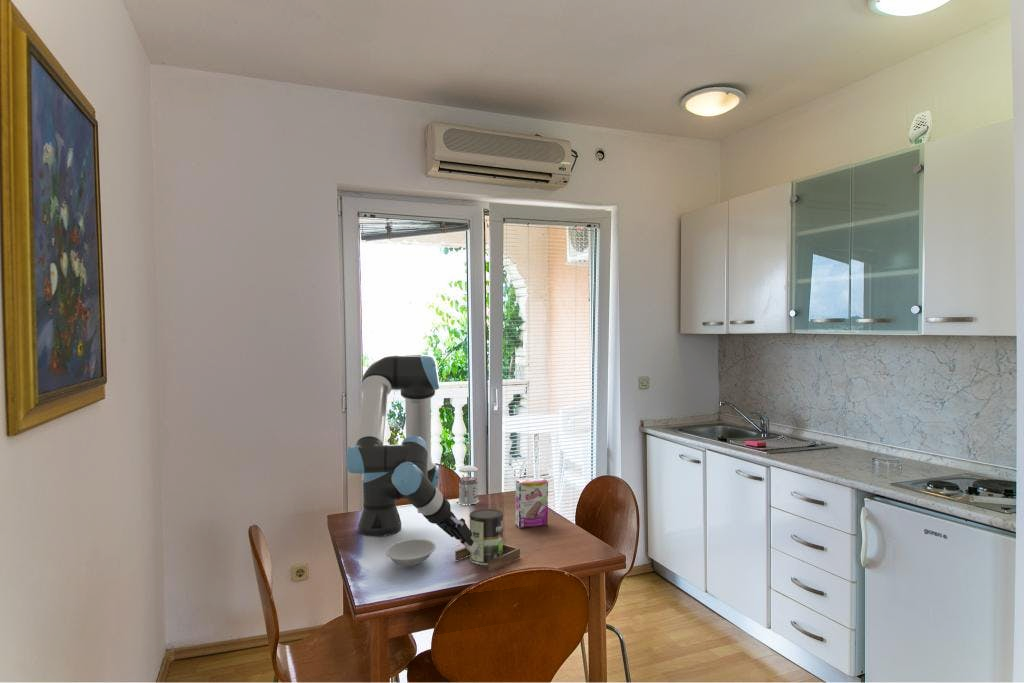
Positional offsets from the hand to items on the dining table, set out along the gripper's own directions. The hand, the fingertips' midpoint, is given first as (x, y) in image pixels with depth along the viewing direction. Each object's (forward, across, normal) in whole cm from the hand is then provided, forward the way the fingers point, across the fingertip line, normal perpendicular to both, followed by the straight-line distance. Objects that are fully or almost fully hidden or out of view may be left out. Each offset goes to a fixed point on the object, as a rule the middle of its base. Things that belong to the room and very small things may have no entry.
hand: (474, 548), depth 174 cm
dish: (-4, -15, -12) cm, 20 cm away
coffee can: (+8, -1, +1) cm, 8 cm away
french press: (+38, -49, +30) cm, 69 cm away
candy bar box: (+33, -10, +25) cm, 43 cm away
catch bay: (+8, 0, +1) cm, 8 cm away
